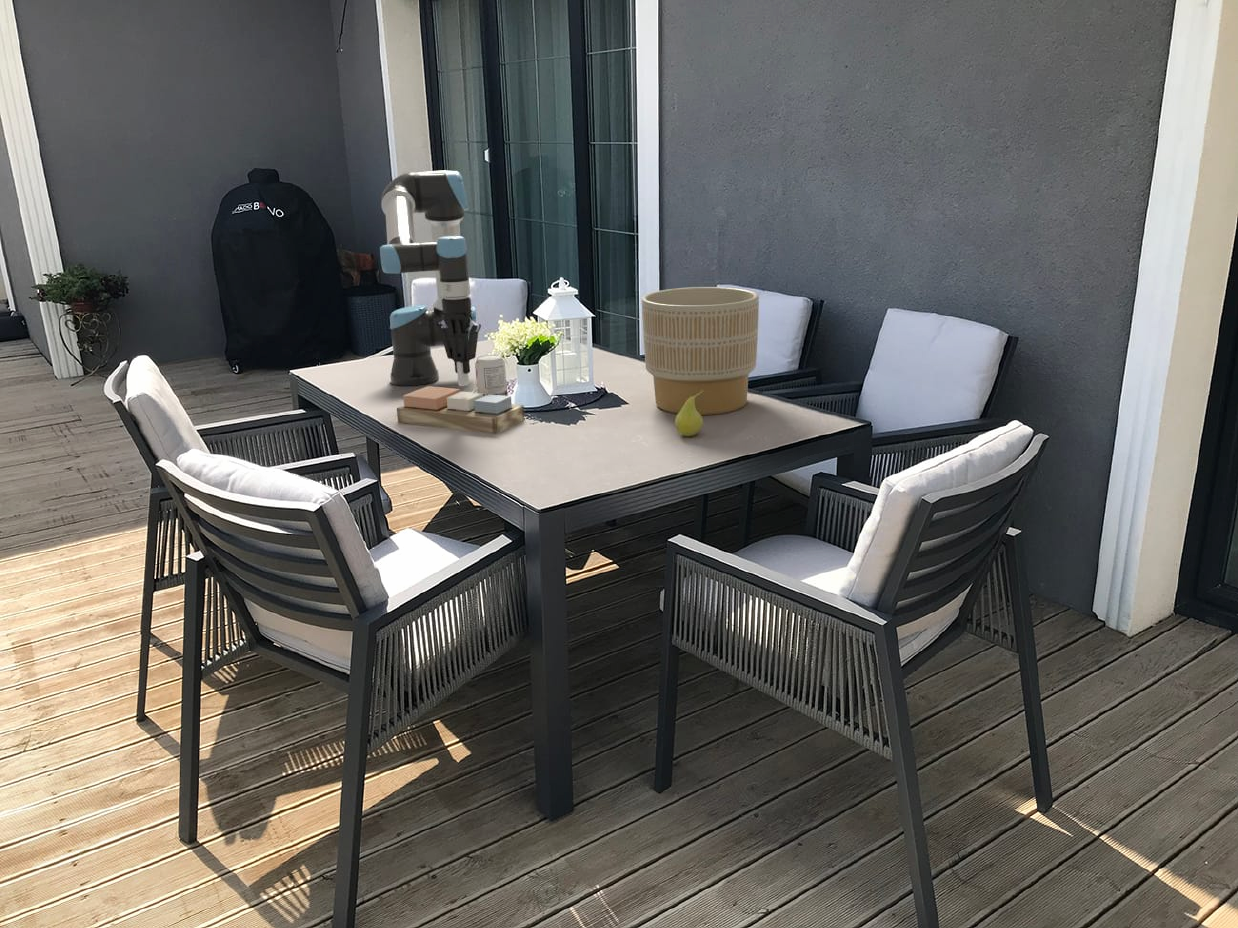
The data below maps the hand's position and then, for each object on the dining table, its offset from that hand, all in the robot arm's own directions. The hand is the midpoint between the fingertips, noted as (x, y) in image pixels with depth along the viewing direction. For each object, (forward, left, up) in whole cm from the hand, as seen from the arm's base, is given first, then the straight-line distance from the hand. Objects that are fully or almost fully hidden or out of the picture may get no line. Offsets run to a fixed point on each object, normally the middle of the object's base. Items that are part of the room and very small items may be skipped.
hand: (463, 384), depth 267 cm
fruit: (-9, +62, -11) cm, 63 cm away
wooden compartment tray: (0, -2, -10) cm, 11 cm away
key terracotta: (0, -11, -8) cm, 13 cm away
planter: (-38, +53, -11) cm, 66 cm away
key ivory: (0, 0, -8) cm, 8 cm away
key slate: (0, +9, -8) cm, 12 cm away
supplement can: (-13, 0, -11) cm, 17 cm away
